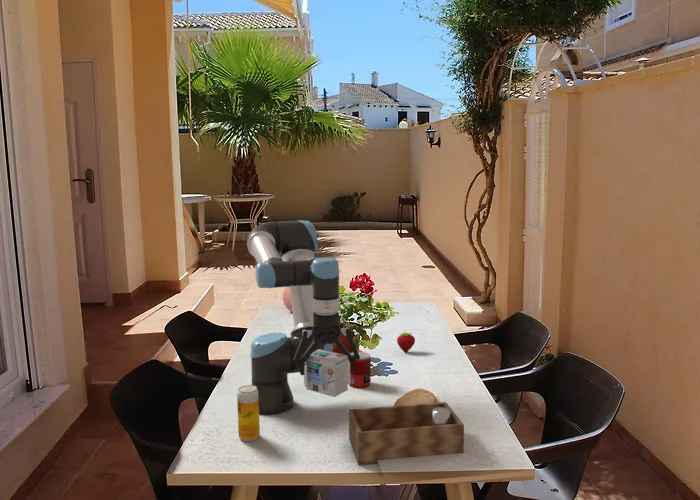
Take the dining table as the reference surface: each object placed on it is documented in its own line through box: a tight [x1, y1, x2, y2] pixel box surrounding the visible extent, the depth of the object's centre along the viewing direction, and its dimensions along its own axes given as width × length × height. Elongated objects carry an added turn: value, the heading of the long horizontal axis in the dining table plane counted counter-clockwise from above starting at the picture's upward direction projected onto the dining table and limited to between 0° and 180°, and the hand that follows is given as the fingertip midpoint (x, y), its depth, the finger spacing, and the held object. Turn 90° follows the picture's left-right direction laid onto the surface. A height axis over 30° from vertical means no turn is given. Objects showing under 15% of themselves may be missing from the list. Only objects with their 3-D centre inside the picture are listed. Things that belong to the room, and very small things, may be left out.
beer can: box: [236, 384, 260, 442], centre depth 185 cm, size 6×6×15 cm
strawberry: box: [396, 331, 416, 353], centre depth 262 cm, size 6×8×10 cm
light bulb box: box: [305, 349, 349, 398], centre depth 186 cm, size 11×7×11 cm, turn 56°
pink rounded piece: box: [282, 287, 292, 312], centre depth 329 cm, size 15×20×15 cm
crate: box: [348, 401, 465, 466], centre depth 179 cm, size 29×16×9 cm, turn 99°
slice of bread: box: [393, 387, 437, 406], centre depth 209 cm, size 18×18×4 cm
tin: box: [432, 407, 450, 426], centre depth 180 cm, size 5×5×9 cm
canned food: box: [348, 351, 372, 389], centre depth 227 cm, size 8×8×11 cm
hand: (327, 383), depth 187 cm, fingers closed on light bulb box, 12 cm apart
